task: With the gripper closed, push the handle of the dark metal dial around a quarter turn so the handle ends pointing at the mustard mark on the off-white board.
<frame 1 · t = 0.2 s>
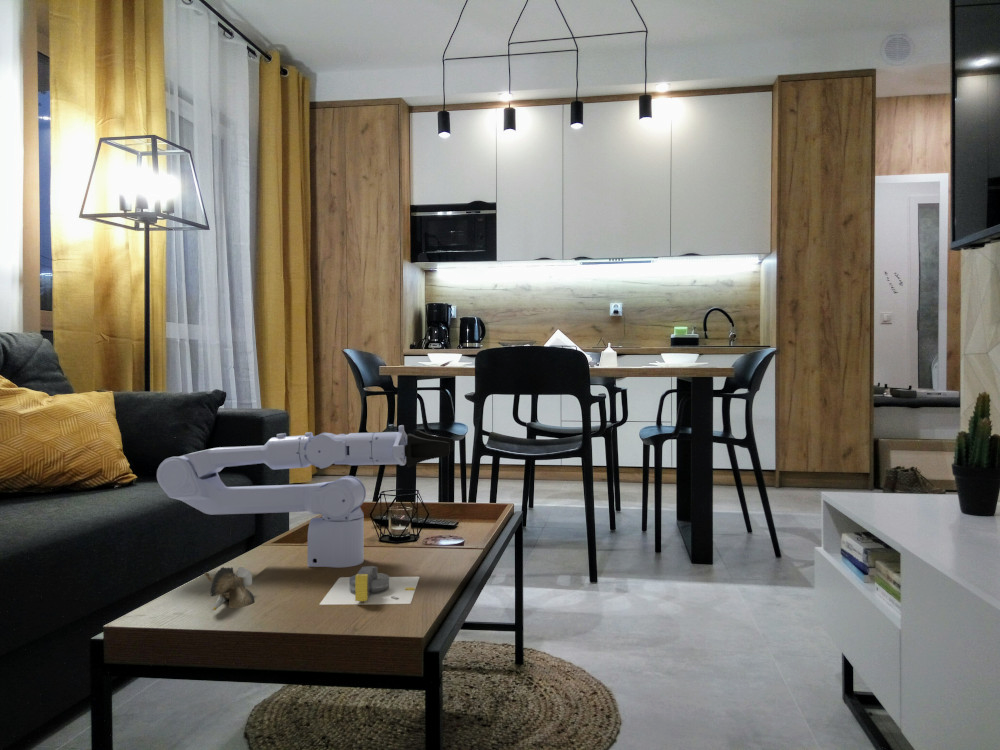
hand: (451, 446, 122), 21 cm above the table, tool horizontal, fingers open, 7 cm apart
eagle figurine: (229, 610, 100), on the table
dial plate: (372, 596, 106), on the table
dial: (367, 579, 104), point 3 cm above the table, hinge at -90.0°
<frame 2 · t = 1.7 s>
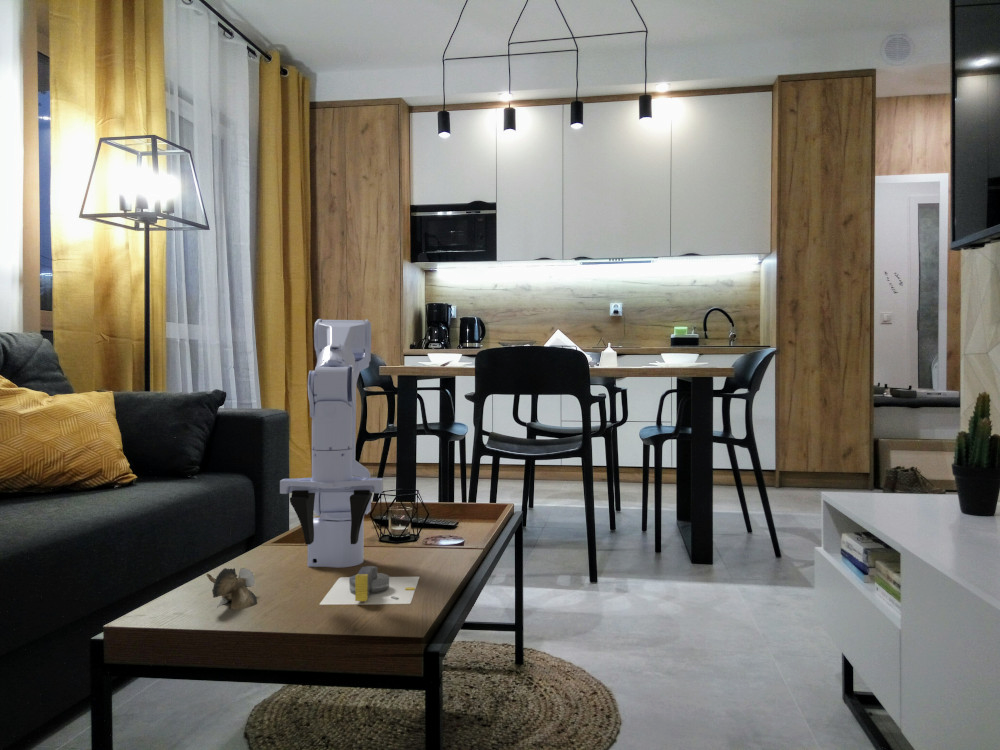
hand: (331, 542, 100), 9 cm above the table, tool pointing down, fingers open, 6 cm apart
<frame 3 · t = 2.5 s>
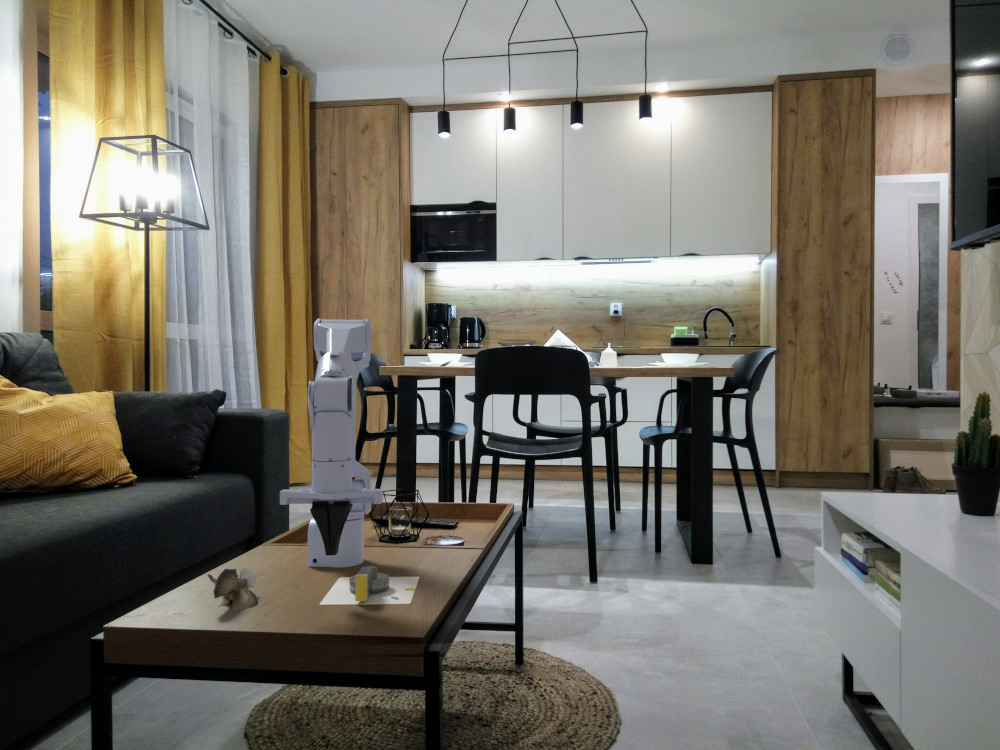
hand: (331, 553, 100), 8 cm above the table, tool pointing down, fingers closed
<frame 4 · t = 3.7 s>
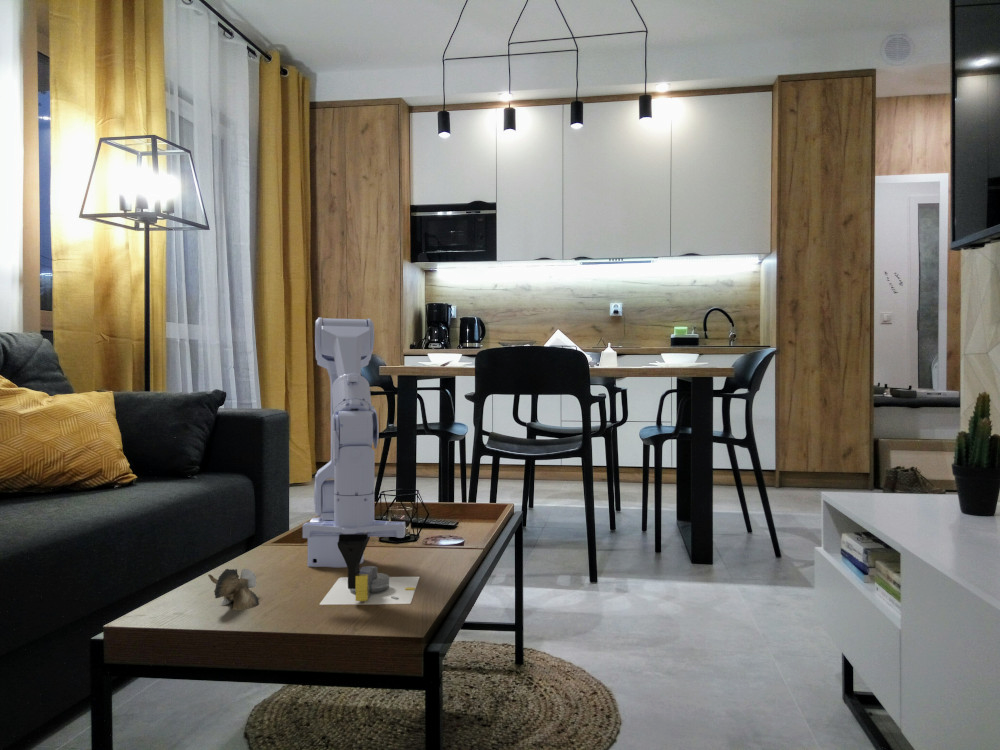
hand: (354, 587, 100), 3 cm above the table, tool pointing down, fingers closed, pressing on dial
dial: (367, 579, 104), point 3 cm above the table, hinge at -89.8°, touching gripper
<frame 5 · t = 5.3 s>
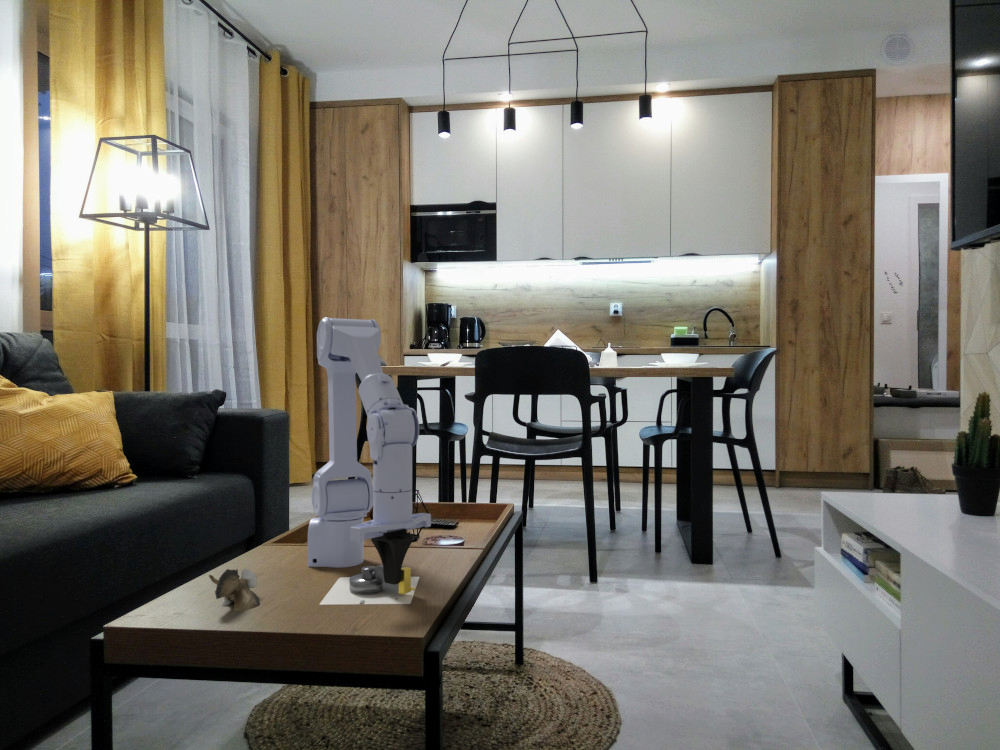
hand: (392, 582, 102), 3 cm above the table, tool pointing down, fingers closed, pressing on dial
dial: (380, 577, 105), point 3 cm above the table, hinge at -29.1°, touching gripper
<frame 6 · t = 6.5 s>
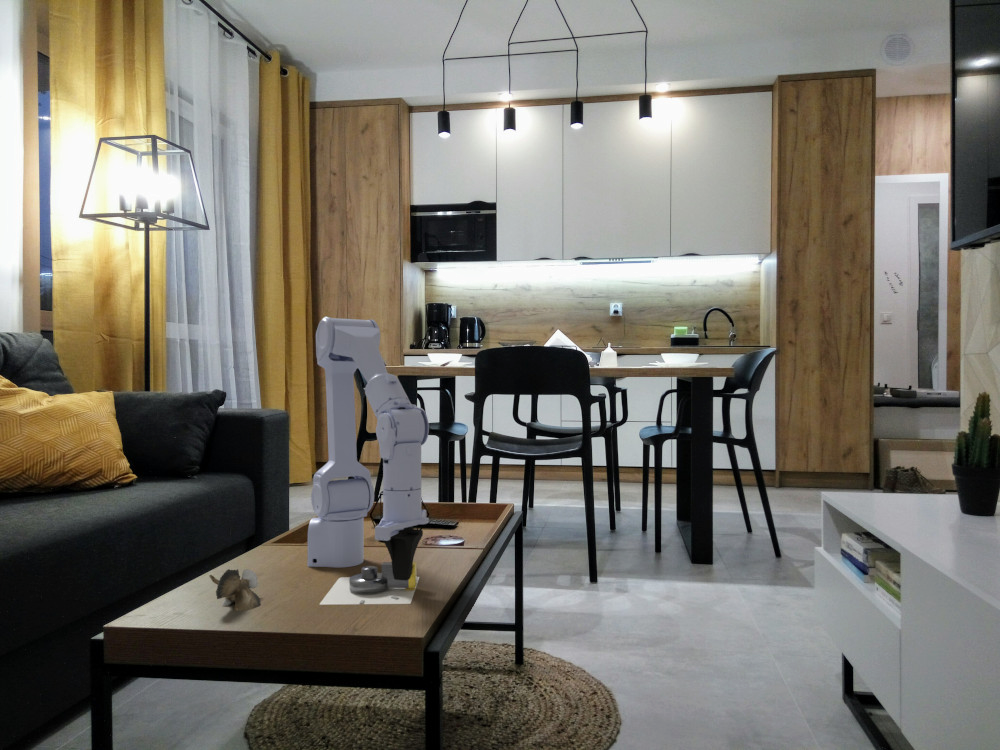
hand: (402, 579, 104), 3 cm above the table, tool pointing down, fingers closed, pressing on dial
dial: (382, 575, 106), point 3 cm above the table, hinge at -1.6°, touching gripper
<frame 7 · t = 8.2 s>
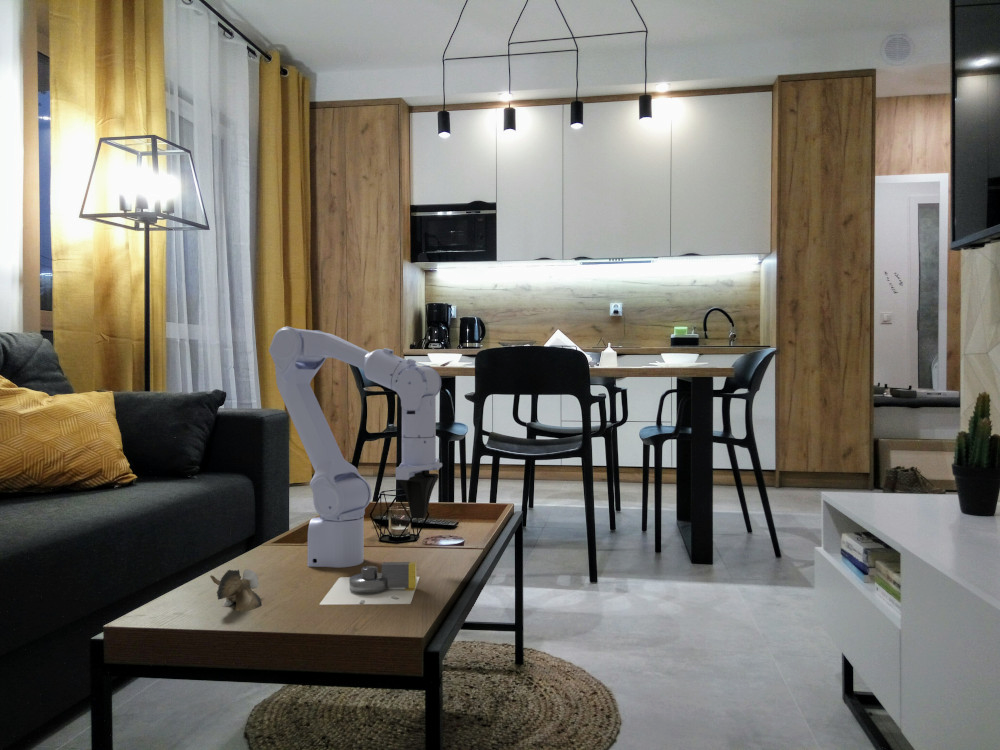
hand: (418, 517, 117), 10 cm above the table, tool pointing down, fingers closed
dial: (382, 575, 106), point 3 cm above the table, hinge at -1.1°
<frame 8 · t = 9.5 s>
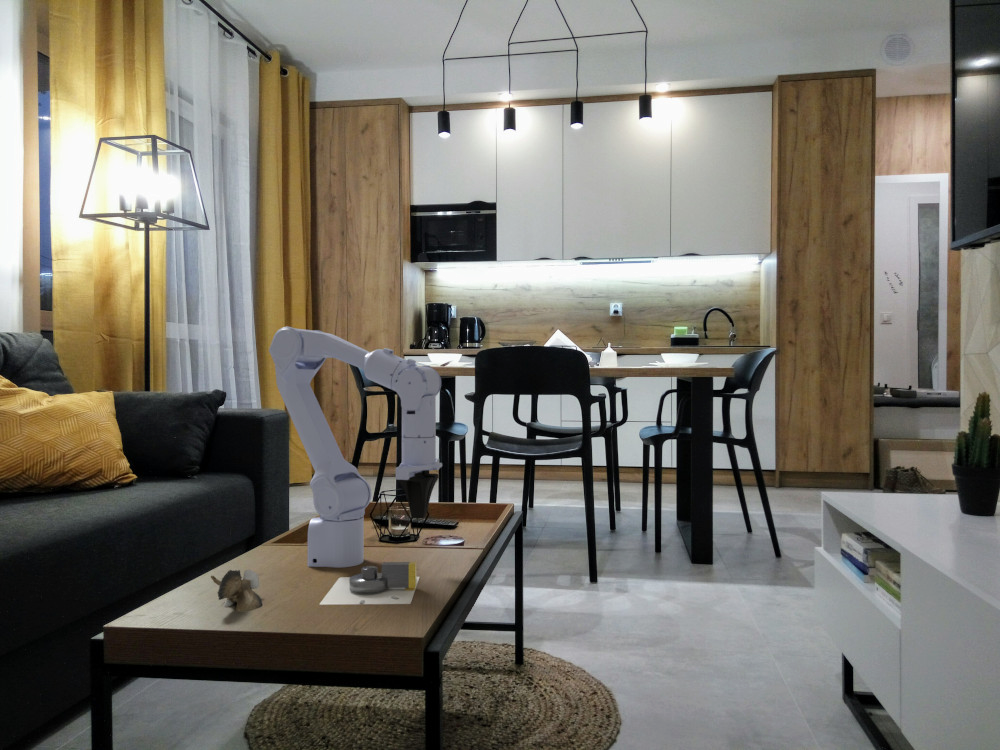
hand: (418, 517, 117), 10 cm above the table, tool pointing down, fingers closed
at the end: dial at -1° (first picture: -90°) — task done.
